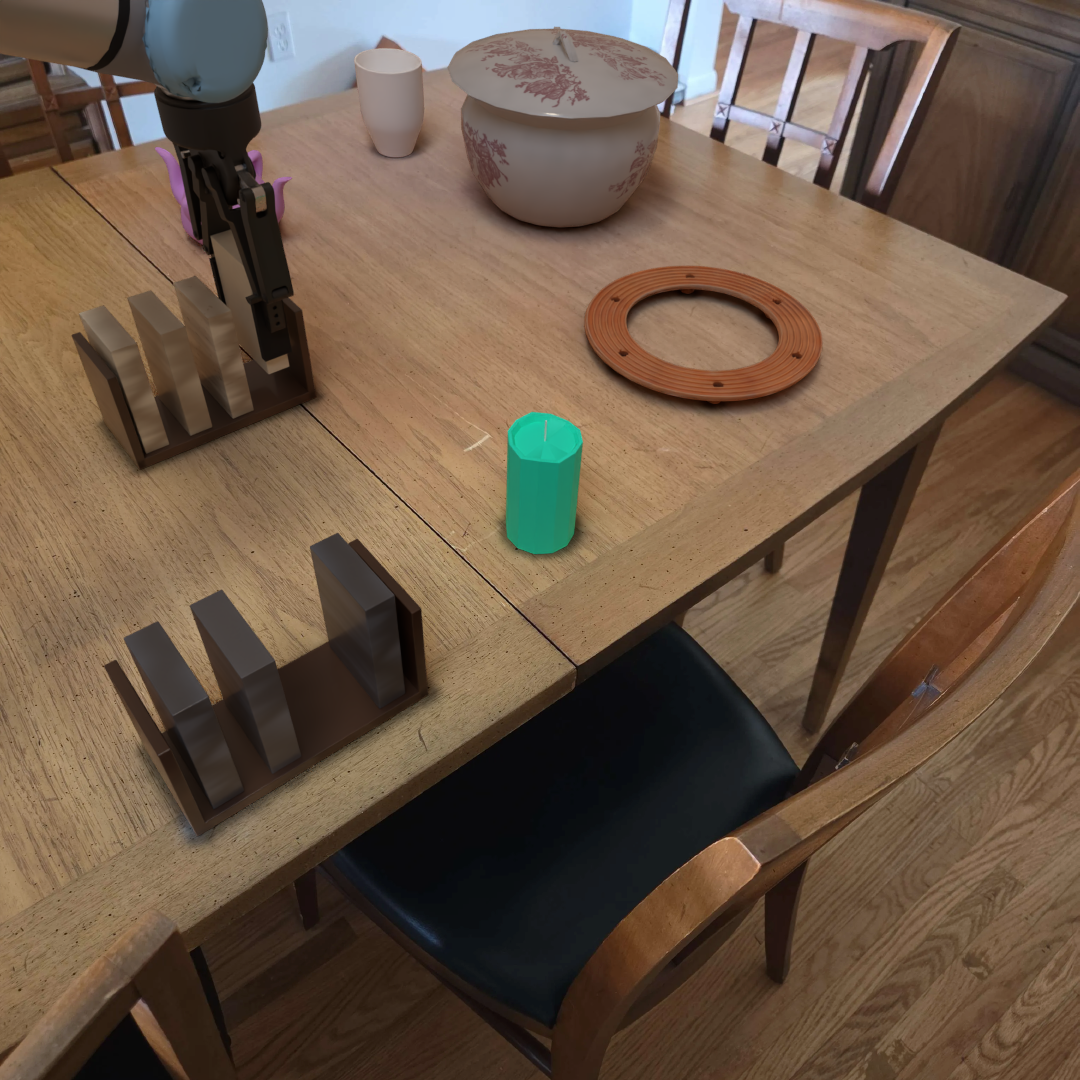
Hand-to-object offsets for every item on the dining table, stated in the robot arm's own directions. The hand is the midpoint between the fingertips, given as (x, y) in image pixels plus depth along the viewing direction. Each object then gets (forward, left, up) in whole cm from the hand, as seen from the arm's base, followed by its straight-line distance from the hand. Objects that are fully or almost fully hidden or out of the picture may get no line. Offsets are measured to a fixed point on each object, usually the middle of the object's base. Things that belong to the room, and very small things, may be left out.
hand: (257, 335), depth 88 cm
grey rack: (0, -40, -6) cm, 40 cm away
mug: (+21, +53, -6) cm, 58 cm away
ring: (+46, -1, -6) cm, 46 cm away
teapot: (-2, +32, -6) cm, 33 cm away
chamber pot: (+39, +33, -6) cm, 52 cm away
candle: (+22, -25, -6) cm, 33 cm away
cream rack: (-5, -3, -6) cm, 9 cm away
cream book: (0, 0, -2) cm, 2 cm away
